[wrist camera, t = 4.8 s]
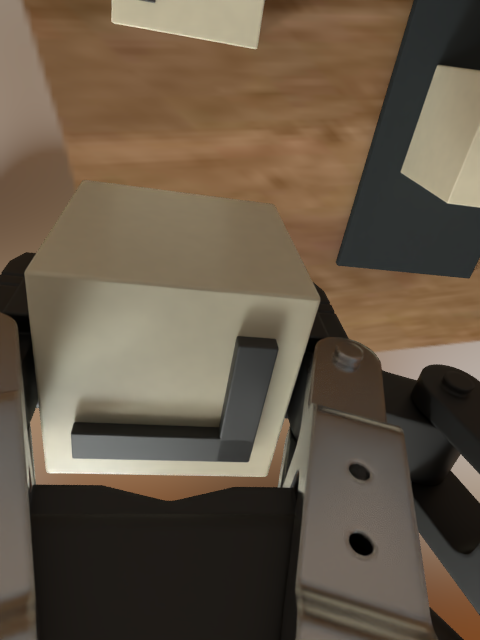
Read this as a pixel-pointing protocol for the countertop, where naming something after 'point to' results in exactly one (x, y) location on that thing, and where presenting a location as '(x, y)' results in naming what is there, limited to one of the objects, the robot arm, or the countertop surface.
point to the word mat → (391, 149)
